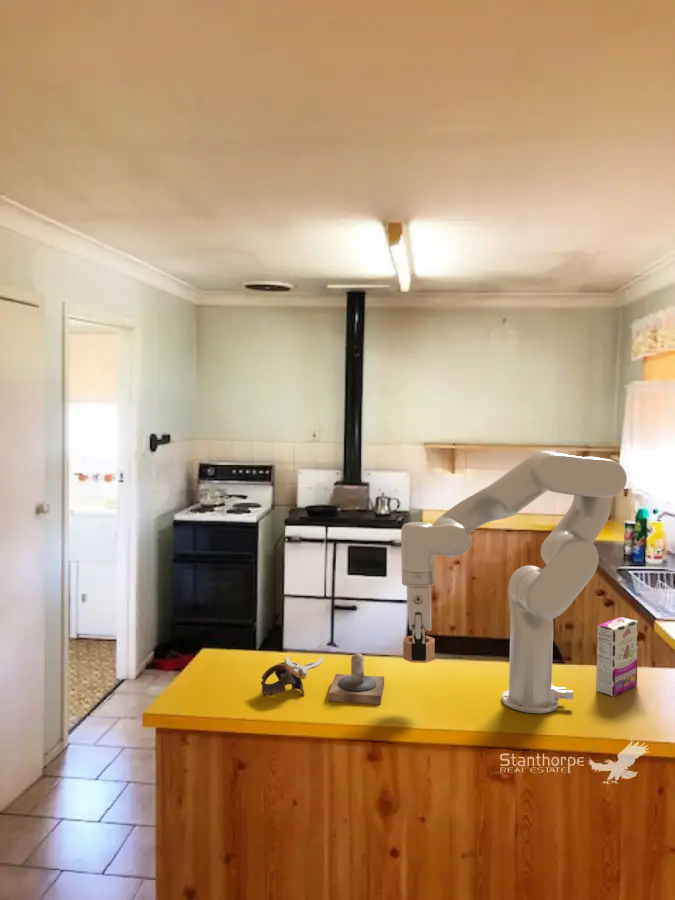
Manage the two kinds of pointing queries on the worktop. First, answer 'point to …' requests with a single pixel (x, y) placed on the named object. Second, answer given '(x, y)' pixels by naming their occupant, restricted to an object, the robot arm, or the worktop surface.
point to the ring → (429, 649)
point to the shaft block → (357, 685)
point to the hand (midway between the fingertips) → (419, 653)
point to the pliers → (303, 669)
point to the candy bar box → (617, 656)
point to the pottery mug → (281, 680)
